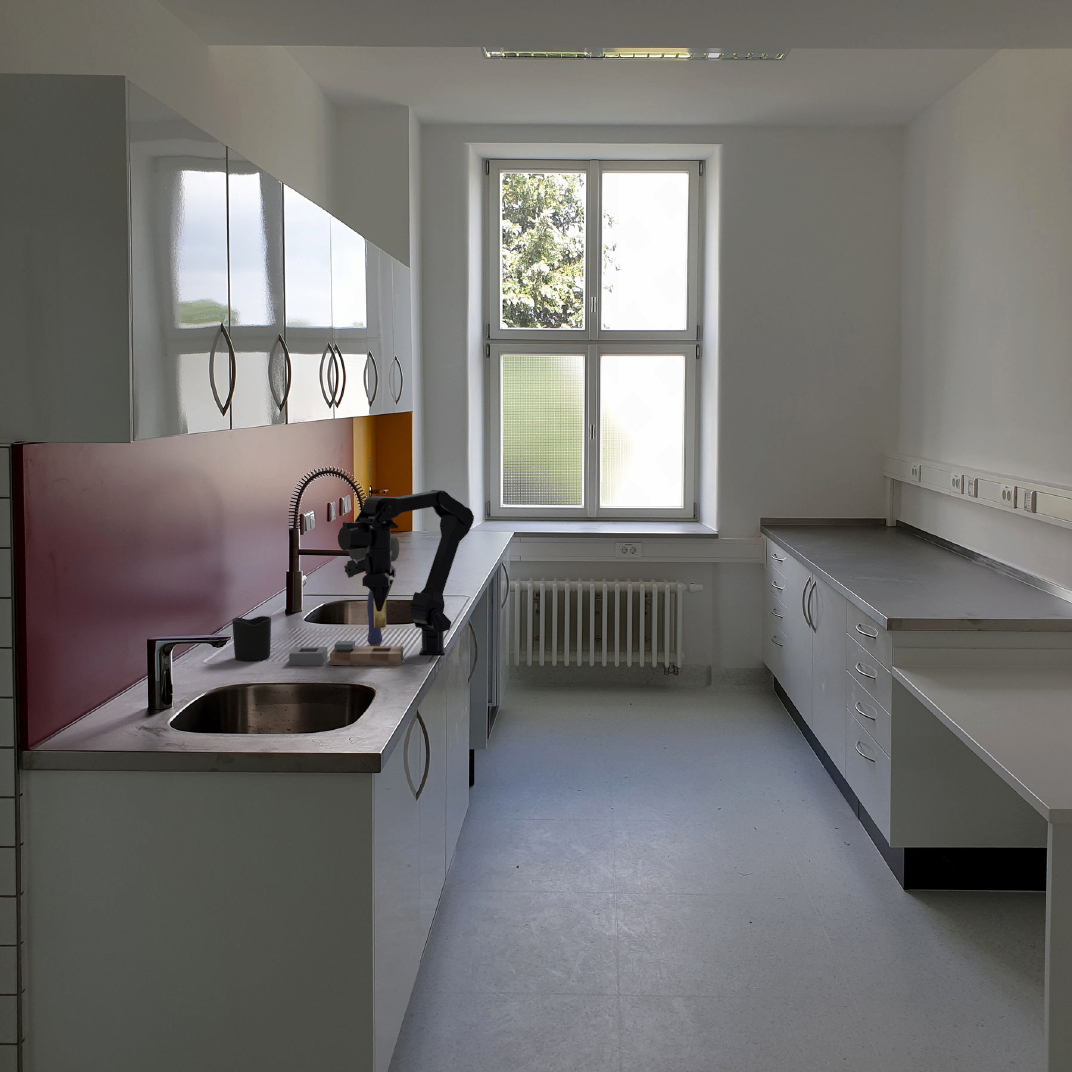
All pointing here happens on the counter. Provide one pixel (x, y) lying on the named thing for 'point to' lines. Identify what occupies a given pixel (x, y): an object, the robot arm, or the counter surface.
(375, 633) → the rubber mallet
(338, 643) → the gray rectangular block
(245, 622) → the pen holder
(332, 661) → the socket block
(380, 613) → the brass rod
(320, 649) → the gray square frame
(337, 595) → the counter surface
